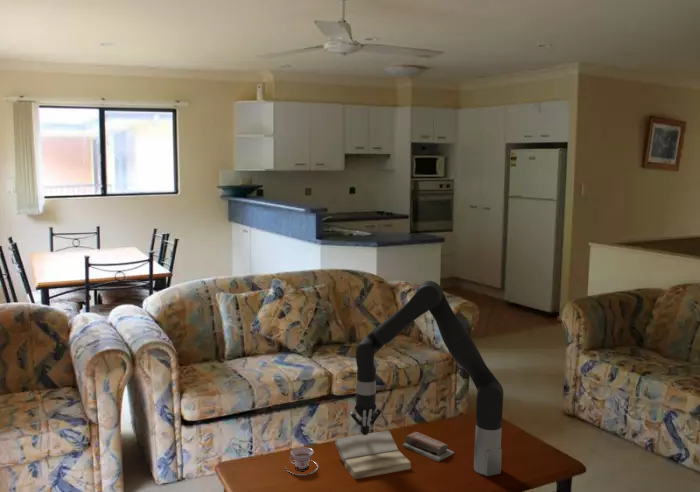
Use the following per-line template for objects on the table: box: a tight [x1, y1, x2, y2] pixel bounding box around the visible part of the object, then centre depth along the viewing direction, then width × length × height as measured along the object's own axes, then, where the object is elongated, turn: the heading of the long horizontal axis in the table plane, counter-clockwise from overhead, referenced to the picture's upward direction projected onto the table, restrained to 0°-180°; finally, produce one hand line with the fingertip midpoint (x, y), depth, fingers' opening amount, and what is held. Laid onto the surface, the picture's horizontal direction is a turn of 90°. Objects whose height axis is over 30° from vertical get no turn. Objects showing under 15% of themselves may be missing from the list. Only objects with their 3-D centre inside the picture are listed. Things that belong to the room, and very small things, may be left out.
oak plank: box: [344, 450, 412, 480], centre depth 246 cm, size 10×22×3 cm, turn 112°
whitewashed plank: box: [334, 429, 399, 464], centre depth 255 cm, size 10×22×2 cm, turn 112°
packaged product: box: [402, 431, 455, 462], centre depth 261 cm, size 18×5×10 cm
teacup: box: [285, 446, 319, 476], centre depth 245 cm, size 12×12×6 cm
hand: (364, 434), depth 256 cm, fingers closed
